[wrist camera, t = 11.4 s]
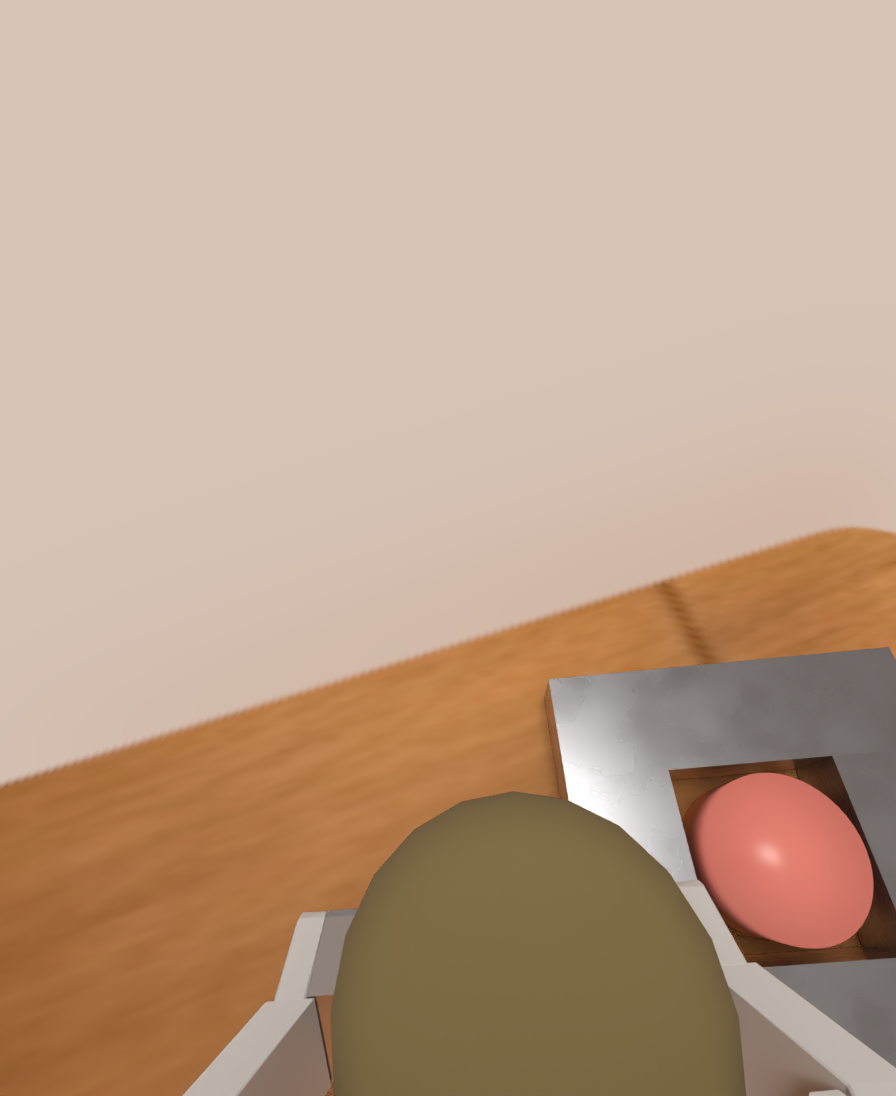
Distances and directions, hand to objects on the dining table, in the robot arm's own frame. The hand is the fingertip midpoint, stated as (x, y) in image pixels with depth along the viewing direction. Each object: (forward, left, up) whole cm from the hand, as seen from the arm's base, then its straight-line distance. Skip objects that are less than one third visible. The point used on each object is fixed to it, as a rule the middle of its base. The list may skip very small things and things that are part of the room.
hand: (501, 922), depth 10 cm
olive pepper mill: (0, -1, -6) cm, 6 cm away
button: (+11, +1, -17) cm, 21 cm away
